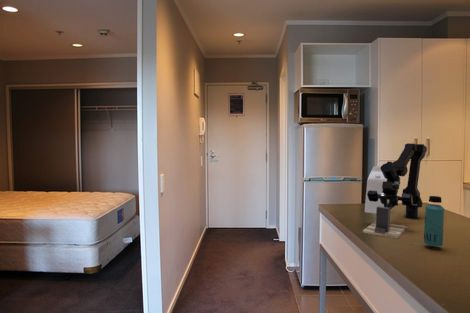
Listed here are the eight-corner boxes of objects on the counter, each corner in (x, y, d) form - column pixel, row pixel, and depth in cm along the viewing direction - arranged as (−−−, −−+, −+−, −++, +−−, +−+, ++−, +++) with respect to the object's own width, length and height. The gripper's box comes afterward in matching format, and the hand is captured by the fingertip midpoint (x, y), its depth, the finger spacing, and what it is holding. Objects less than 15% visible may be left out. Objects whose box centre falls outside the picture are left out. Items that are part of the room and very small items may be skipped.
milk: (390, 211, 187) (392, 166, 186) (387, 214, 178) (389, 167, 176) (368, 208, 194) (369, 165, 192) (364, 212, 184) (366, 166, 183)
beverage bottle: (440, 246, 126) (442, 195, 125) (445, 251, 120) (447, 198, 118) (421, 244, 128) (423, 194, 127) (425, 249, 122) (427, 197, 121)
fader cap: (377, 228, 146) (378, 206, 145) (389, 230, 143) (390, 207, 142) (375, 230, 143) (376, 207, 142) (387, 231, 140) (388, 208, 139)
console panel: (374, 223, 159) (374, 217, 159) (406, 228, 151) (406, 222, 150) (362, 232, 143) (362, 225, 143) (397, 238, 135) (397, 231, 135)
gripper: (368, 173, 155) (361, 199, 147) (412, 176, 144) (407, 205, 136) (372, 187, 162) (365, 213, 154) (414, 191, 151) (409, 219, 143)
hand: (386, 212), depth 146 cm, fingers closed
